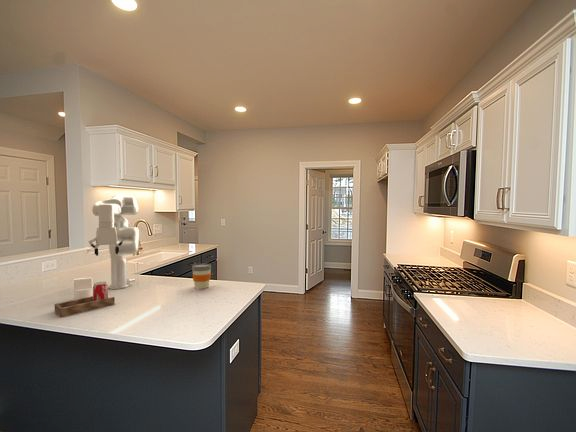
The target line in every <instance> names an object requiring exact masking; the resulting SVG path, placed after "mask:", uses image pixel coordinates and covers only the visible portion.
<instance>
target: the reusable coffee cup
mask: <svg viewBox="0 0 576 432" xmlns="http://www.w3.org/2000/svg"><path fill="white" fill-rule="evenodd" d="M191 266H192V268H191V271H192V280H193V283H194V288H195V289H196V288H198V289H197V290H204V289H207V287H208V288H209V286H210V280H211V275H212V273H211V270H212V264H210V263H196V264H193V265H191ZM203 288H204V289H203Z"/></svg>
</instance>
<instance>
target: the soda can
mask: <svg viewBox="0 0 576 432" xmlns="http://www.w3.org/2000/svg"><path fill="white" fill-rule="evenodd" d="M106 298H109V285H108V283H107V282H106V281H100V282H95V283H93V301H96V300H101V299H106Z"/></svg>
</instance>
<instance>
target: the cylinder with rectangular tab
mask: <svg viewBox="0 0 576 432" xmlns="http://www.w3.org/2000/svg"><path fill="white" fill-rule="evenodd" d="M93 279H94V278H93V276H92V277H81V278H79V277H78V278H74V279H73V295H74V299H73V300H76V299H81V298H86V297H91V296H93V286H94V282H93Z"/></svg>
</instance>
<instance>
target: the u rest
mask: <svg viewBox="0 0 576 432" xmlns="http://www.w3.org/2000/svg"><path fill="white" fill-rule="evenodd" d="M115 301H116V299H115V296H110V297H108V298H106V299H101V300H96V301H93V296H91V297H86V298H81V299H76V300H74V299H72V300H67V301H62V302H57V303H54V312H55V313H56V315H58V316H59V317H60V318H62V317H63V318H64V317H67V316H70V315H71V316H72V315H75V314H80V313H83V312H88V311H93V310H96V309H101V308H104V307H109V306H114V305H115V304H116V303H115Z"/></svg>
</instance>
